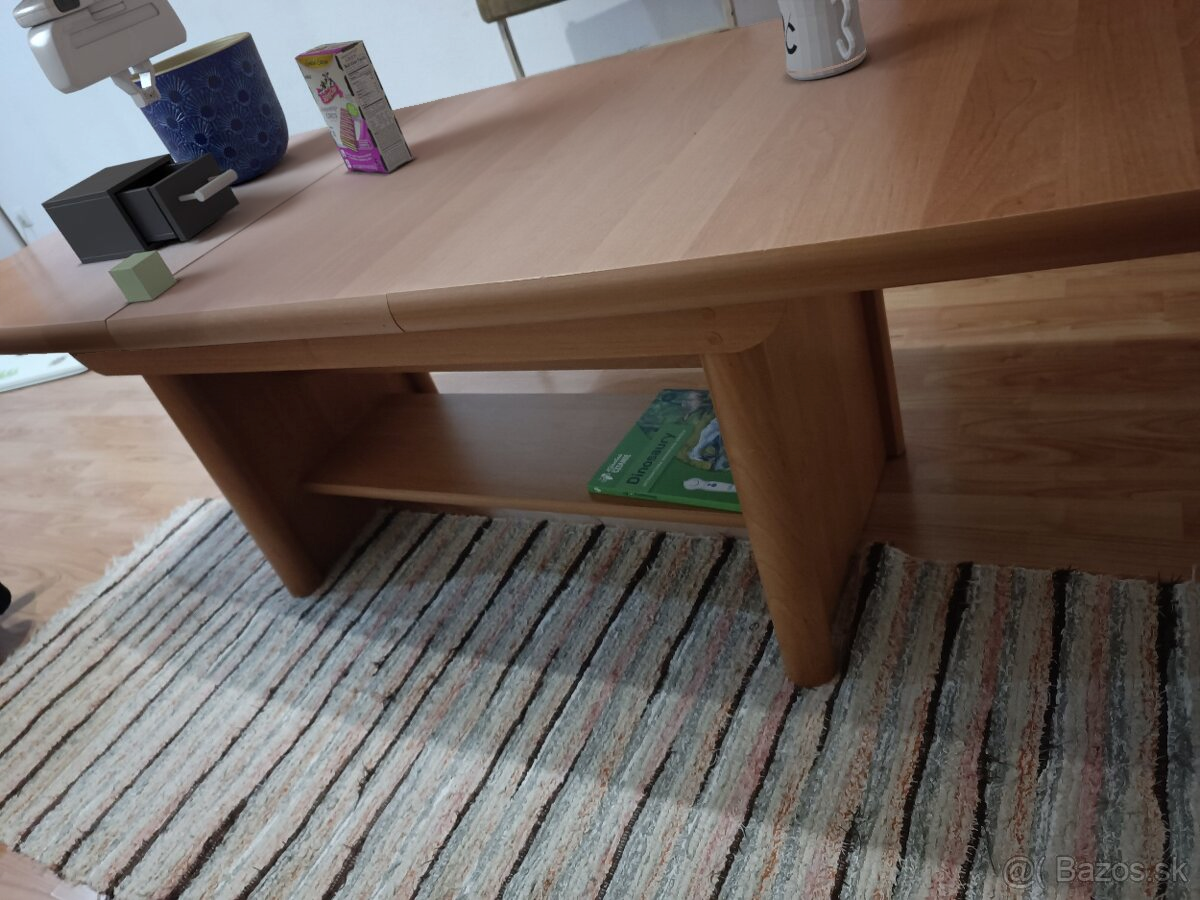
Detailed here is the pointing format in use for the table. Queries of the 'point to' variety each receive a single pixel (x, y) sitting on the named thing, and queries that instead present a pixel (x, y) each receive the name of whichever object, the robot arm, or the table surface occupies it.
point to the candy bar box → (354, 106)
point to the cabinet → (102, 213)
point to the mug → (821, 36)
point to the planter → (219, 107)
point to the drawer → (178, 198)
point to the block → (142, 276)
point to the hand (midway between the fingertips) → (150, 103)
